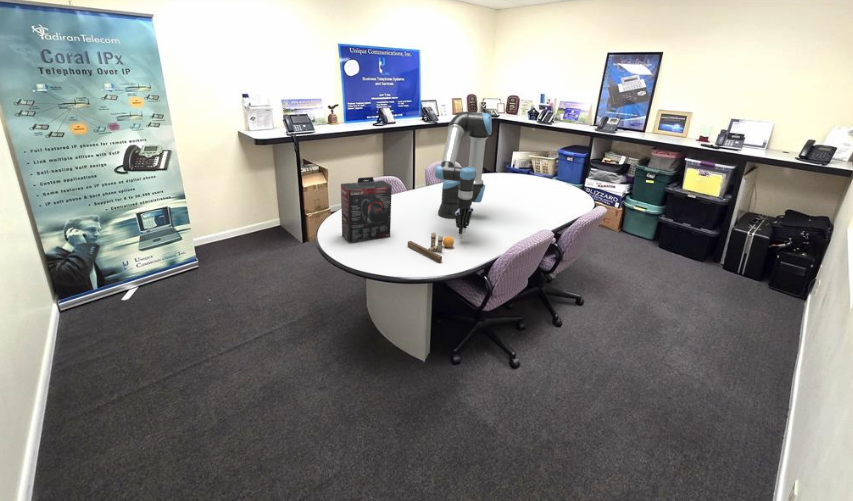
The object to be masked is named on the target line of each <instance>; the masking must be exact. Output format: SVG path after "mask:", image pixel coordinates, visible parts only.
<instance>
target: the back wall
mask: <svg viewBox="0 0 853 501" xmlns="http://www.w3.org/2000/svg"><path fill="white" fill-rule="evenodd" d="M407 248H409V249H411V250H412V251H414V252H416V253H419V254H421V255H423V256H424V257H427V258H428V259H429V260H430V259H431V261H434V262H436V263H438V264H439V263H440V264H441V263H442V262H443V256H442V255H440V254H438V253H437V252H435V251H434V252H432V251H430V250H428V249H429V248H426V247H424V246H422V245H420V244H418V243H416V242H415V241H412V240H408V241H407Z"/></svg>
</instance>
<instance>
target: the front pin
mask: <svg viewBox="0 0 853 501" xmlns="http://www.w3.org/2000/svg"><path fill="white" fill-rule="evenodd" d="M437 246H438V244H437V245H435V246H434V247H431V246H430V247H429V248H427V249H428V250H430V251H432V252H434V253H435V252H437ZM443 248H444V245H443V244H442V249H443Z"/></svg>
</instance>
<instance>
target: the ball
mask: <svg viewBox="0 0 853 501" xmlns="http://www.w3.org/2000/svg"><path fill="white" fill-rule="evenodd" d="M454 243H455V240H454V237H452V236H449V235H447V236H445V237H443V242H442V245H443V247H446V248H451V247H453V246H454Z"/></svg>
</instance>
